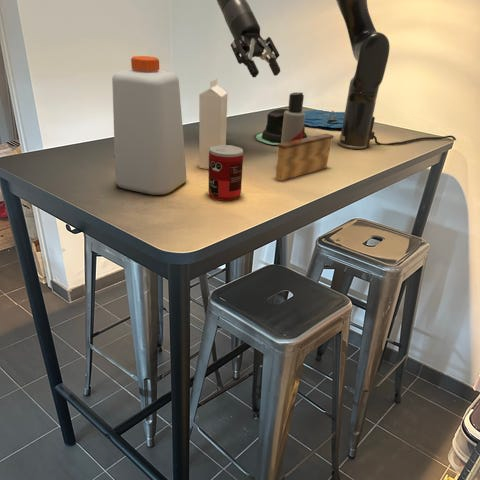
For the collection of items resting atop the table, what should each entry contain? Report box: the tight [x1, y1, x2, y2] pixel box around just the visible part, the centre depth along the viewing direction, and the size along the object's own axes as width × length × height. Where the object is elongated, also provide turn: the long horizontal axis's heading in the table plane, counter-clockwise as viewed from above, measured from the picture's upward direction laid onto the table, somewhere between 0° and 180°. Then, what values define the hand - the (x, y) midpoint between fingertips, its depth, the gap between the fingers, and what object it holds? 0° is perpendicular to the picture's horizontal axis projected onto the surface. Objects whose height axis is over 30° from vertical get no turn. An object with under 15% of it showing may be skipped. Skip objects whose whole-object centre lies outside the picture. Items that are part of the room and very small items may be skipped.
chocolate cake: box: [255, 108, 309, 146], centre depth 157 cm, size 15×19×20 cm
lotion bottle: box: [281, 91, 305, 143], centre depth 127 cm, size 6×6×20 cm
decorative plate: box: [302, 109, 345, 129], centre depth 183 cm, size 30×30×5 cm
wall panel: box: [275, 133, 334, 182], centre depth 127 cm, size 21×3×9 cm, turn 133°
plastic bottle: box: [111, 55, 188, 196], centre depth 108 cm, size 15×15×28 cm
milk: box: [198, 78, 228, 170], centre depth 124 cm, size 6×6×22 cm
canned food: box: [208, 144, 244, 202], centre depth 109 cm, size 8×8×11 cm
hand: (267, 74), depth 126 cm, fingers open, 8 cm apart
